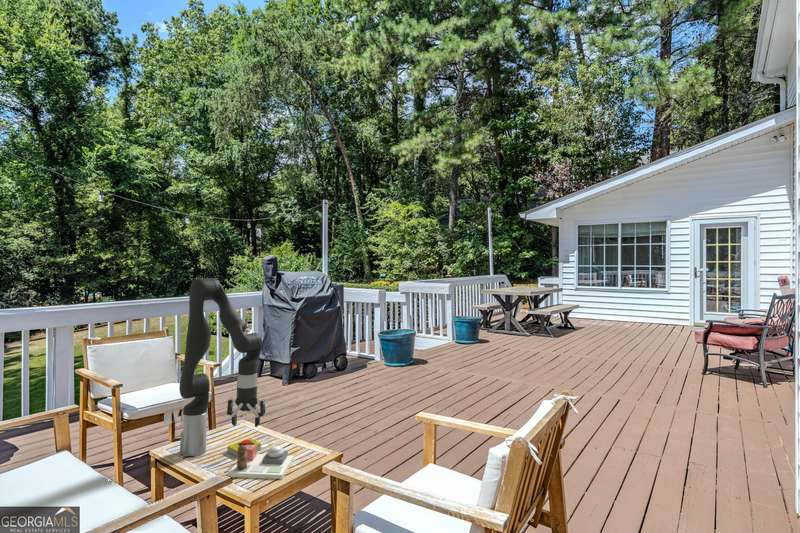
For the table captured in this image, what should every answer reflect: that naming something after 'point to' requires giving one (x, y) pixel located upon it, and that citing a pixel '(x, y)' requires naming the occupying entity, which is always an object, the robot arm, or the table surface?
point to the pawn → (242, 457)
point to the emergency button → (233, 448)
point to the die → (251, 452)
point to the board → (264, 467)
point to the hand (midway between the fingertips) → (245, 425)
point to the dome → (275, 451)
